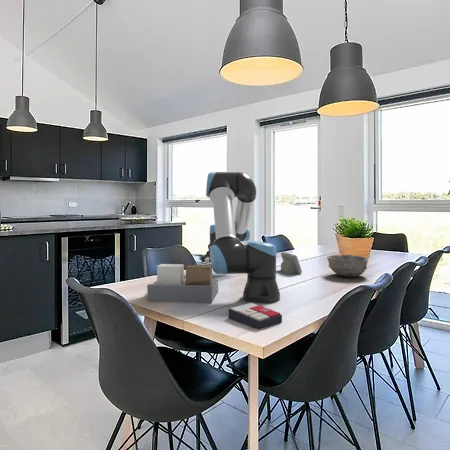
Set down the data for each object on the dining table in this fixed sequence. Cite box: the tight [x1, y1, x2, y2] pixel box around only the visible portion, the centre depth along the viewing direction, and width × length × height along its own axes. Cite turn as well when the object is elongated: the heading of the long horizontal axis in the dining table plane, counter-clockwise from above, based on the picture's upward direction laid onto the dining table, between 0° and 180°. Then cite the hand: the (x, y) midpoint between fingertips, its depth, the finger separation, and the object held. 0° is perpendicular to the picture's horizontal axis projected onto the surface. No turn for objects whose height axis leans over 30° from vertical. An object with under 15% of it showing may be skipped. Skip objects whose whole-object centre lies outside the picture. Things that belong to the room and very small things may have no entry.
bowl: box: [326, 254, 369, 278], centre depth 201 cm, size 21×21×10 cm
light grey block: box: [156, 263, 185, 285], centre depth 161 cm, size 6×10×11 cm, turn 83°
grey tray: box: [146, 279, 219, 304], centre depth 160 cm, size 18×26×6 cm
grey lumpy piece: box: [280, 251, 303, 275], centre depth 213 cm, size 16×9×11 cm, turn 7°
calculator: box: [227, 302, 283, 330], centre depth 128 cm, size 11×4×15 cm
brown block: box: [185, 264, 213, 286], centre depth 160 cm, size 6×10×11 cm, turn 83°
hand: (206, 262), depth 178 cm, fingers closed
